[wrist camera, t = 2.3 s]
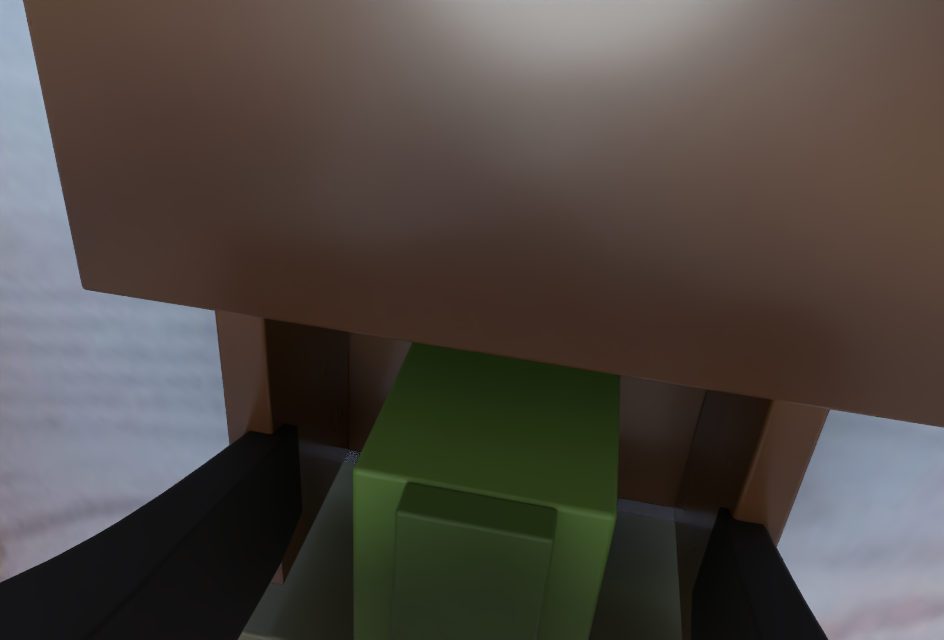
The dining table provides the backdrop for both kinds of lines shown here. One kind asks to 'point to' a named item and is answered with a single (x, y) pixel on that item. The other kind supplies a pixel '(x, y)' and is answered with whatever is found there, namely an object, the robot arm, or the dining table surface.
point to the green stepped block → (485, 500)
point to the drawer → (639, 474)
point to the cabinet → (528, 179)
